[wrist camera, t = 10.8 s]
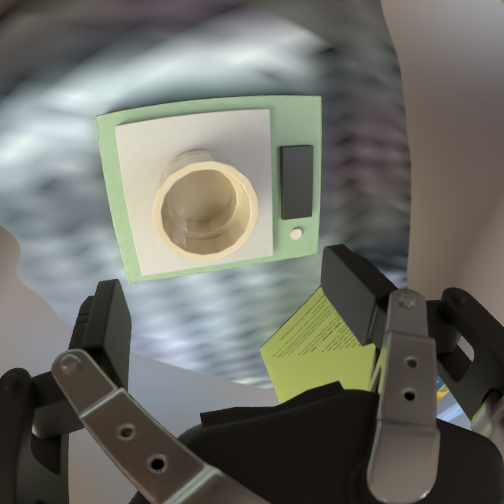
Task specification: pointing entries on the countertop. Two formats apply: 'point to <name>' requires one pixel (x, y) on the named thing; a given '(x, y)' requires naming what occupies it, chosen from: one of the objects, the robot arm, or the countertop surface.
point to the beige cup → (204, 206)
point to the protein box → (318, 352)
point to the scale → (234, 149)
